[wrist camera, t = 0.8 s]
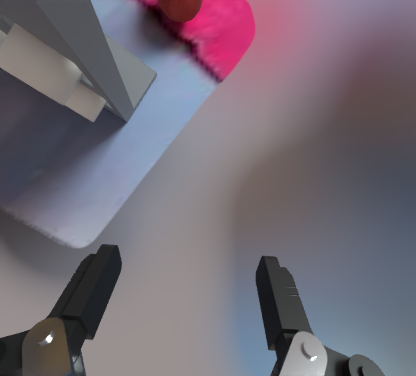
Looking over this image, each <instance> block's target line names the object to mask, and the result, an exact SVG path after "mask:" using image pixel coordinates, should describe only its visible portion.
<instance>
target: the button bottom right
mask: <svg viewBox="0 0 416 376" xmlns="http://www.w3.org/2000/svg"><path fill="white" fill-rule="evenodd" d="M106 102H107V101H106V100H105V99H104V98H102V97H101V96H99V95H98V94H96V93H95V92H93V91H92V90H90V89H89V88H87V87H86V86H84V85H83V84H81V83H80V82H78V84H77V85H76V87H75V88H74V90H73V91H72V93H71V95H70V96H69V98H68V99H67V101H66V102H65V104H64V105H65V106H67V107H69V108H70V109H72V110H73V111H75V112H77V113H78V114H80V115H82V116H83V117H85V118H87V119H88V120H90V121H92V122H93V123H94V121H95V120H96V118H97V117H98V115H99V113H100V112H101V110H102V109H103V107H104V106H105V104H106Z"/></svg>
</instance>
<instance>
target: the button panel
mask: <svg viewBox="0 0 416 376" xmlns="http://www.w3.org/2000/svg"><path fill="white" fill-rule="evenodd" d="M14 23H16V24H18V25H19V26H21V27H22V28H23V29H25V30H26V31H28V32H29V33H31V34H32V35H34V36H35V37H37V38H38V39H40V40H41V41H42V42H44V43H45V44H47V45H48V46H50V47H51V48H53V49H54V50H56V51H57V52H58V53H60V54H61V55H63V56H64V57H66V58H67V59H69V60H70V61H72V62H73V63H75V65H76V66H77V67H78V68H79V69H80V70H81V72H82V73H83V76H82V77H81V79H80V80H79V82H80V83H81V84H83V85H84V86H86V87H87V88H89V89H90V90H92V91H93V92H95V93H96V94H98V95H99V96H101V97H102V98H104V99H105V100H106V101H107V102H106V104H105V106H104V108H106V109H107V110H109V111H111V112H112V113H114V114H115V115H117V116H118V117H120V118H121V119H123V120H124V121H126V122H128V121H129V119H130V118H131V116H132V114H133V113H134V111H135V110H136V108H137V106H138V105H139V103H140V102H141V100H142V99H143V97H144V95H145V94H146V92H147V91H148V89H149V87H150V86H151V84H152V83H153V81H154V79H155V78H156V76H157V73H156V72H155V71H154V70H152V69H151V68H150V67H148V66H147V65H146V64H145V63H143V62H142V61H141V60H139V59H138V58H137V57H135V56H134V55H133V54H131V53H130V52H129V51H127V50H126V49H125V48H123V47H122V46H121V45H120V44H118V43H117V42H116V41H114V40H113V39H112V38H110V37H109V36H108V35H106V34H105V33H104V32H103V30H102V28H101V25H100V23H99V20H98V18H97V15H96V13H95V10H94V8H93V5H92V3H91V0H0V30H1V31H2V32H4V33H5V34H6V35H7V34H8V33H9V31H10V29H11V28H12V26H13V25H14Z"/></svg>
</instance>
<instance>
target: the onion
mask: <svg viewBox="0 0 416 376" xmlns="http://www.w3.org/2000/svg"><path fill="white" fill-rule="evenodd" d="M158 3H159V5H160V7H161V9H162V11H163V12H164V13H165V14H166V15H167V16H168V17H169V19H171V20H174V21H176V22H187V21H190V20H192V19H193V18H194V17H195V16H196V14H197V13H198V12H199V10H200V7H201V3H202V0H158Z"/></svg>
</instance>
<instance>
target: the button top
mask: <svg viewBox="0 0 416 376" xmlns="http://www.w3.org/2000/svg"><path fill="white" fill-rule="evenodd" d="M0 68H2V69H3V70H5V71H6V72H8V73H10V74H11V75H13V76H15V77H16V78H18V79H20V80H21V81H23V82H24V83H26V84H28V85H29V86H31V87H33V88H34V89H36V90H38V91H39V92H41V93H43V94H44V95H46V96H48V97H49V98H51V99H53V100H54V101H56V102H58V103H60V104H61V105H63V106H64V104H65V102H66V101H67V99H68V98H69V96H70V95H71V93H72V91H73V90H74V88H75V87H76V85H77V84H78V82H79V80H80V79H81V77H82V76H83V73H82V72H81V70H80V69H79V68H78V67H77V66H76V65H75V63H73V62H72V61H70V60H69V59H67V58H66V57H64V56H63V55H61V54H60V53H58V52H57V51H56V50H54V49H53V48H51V47H50V46H48V45H47V44H45V43H44V42H42V41H41V40H40V39H38V38H37V37H35V36H34V35H32V34H31V33H29V32H28V31H26V30H25V29H23V28H22V27H21V26H19V25H18V24H16V23H14V25H13V26H12V28H11V29H10V31H9V33H8V34H7V36H6V37H5V39H4V40H3V42H2V44H1V45H0Z"/></svg>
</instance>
